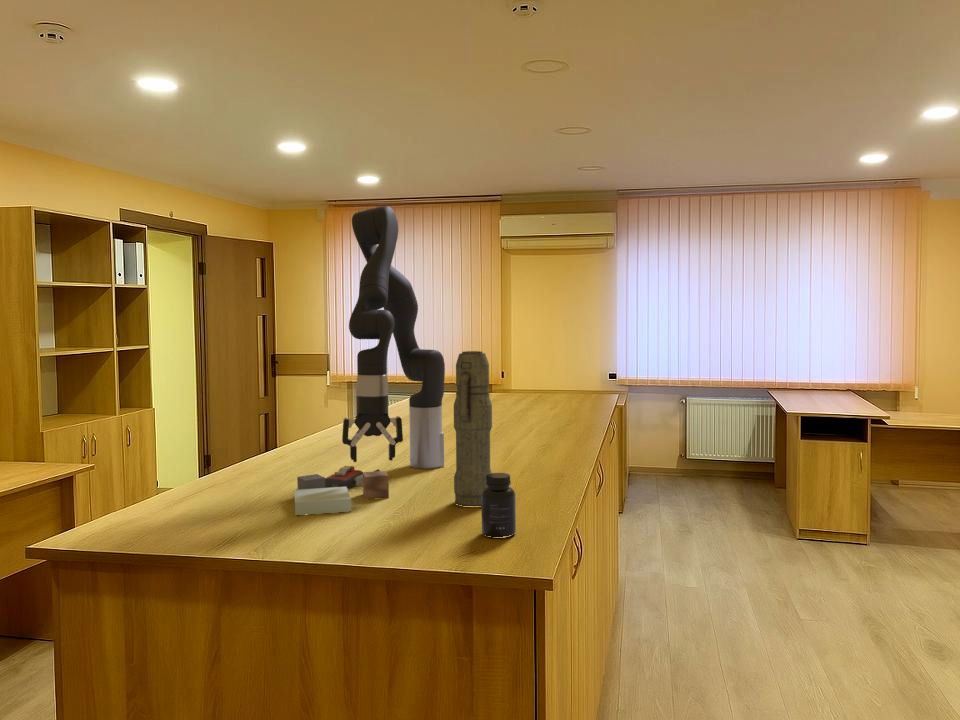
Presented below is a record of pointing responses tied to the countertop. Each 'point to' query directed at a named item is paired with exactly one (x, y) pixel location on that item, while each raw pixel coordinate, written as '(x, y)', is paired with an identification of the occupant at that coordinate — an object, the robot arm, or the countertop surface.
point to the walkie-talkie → (345, 478)
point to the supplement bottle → (498, 506)
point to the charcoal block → (310, 482)
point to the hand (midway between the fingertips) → (372, 460)
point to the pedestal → (322, 500)
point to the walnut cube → (375, 485)
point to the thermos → (472, 427)
